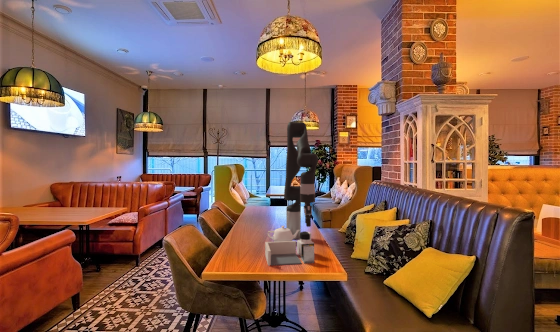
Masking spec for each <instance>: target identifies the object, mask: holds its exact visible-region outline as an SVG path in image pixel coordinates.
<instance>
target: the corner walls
mask: <svg viewBox="0 0 560 332" xmlns="http://www.w3.org/2000/svg"><path fill="white" fill-rule="evenodd" d="M264 245H265V247H264V251H265V252H264V253H265V254H264V256H265V260H266V263H267V266H268V267H269V266H270V265H271V255H273V254H296V255H297V241H296V240H292V241H281V242H274V241H265V243H264ZM271 266H272V265H271Z"/></svg>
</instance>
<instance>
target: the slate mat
mask: <svg viewBox="0 0 560 332" xmlns="http://www.w3.org/2000/svg"><path fill="white" fill-rule="evenodd" d="M298 256H299V255H297V253H296V254H273V255H271V266H287V265H288V266H290V265H291V266H292V265H302V260H300V258H299V257H298Z"/></svg>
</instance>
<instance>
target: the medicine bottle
mask: <svg viewBox="0 0 560 332" xmlns="http://www.w3.org/2000/svg"><path fill="white" fill-rule="evenodd" d="M296 240H297V241H296V254H298V256H300V257H301V256H304V246H314V247H315V242H314V241H312V233H311V232H310V231H301V233H300V238H299V239H296Z"/></svg>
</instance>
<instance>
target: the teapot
mask: <svg viewBox="0 0 560 332" xmlns="http://www.w3.org/2000/svg"><path fill="white" fill-rule="evenodd" d="M299 231H300V230H297V231H296V233H295V234H294V235H292V232H291V230H290V229H288V228H286V227H285V225H281V226H280V227H279V228H278V227H277V228H276V229H275V230H268V231H267V233H266V235H267V237H269V239H271V240H273V242H281V241H294V240H295V239H294V238H295V237H296V236H297V233H298V232H299ZM270 233H272V234H273V235H270Z"/></svg>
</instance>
